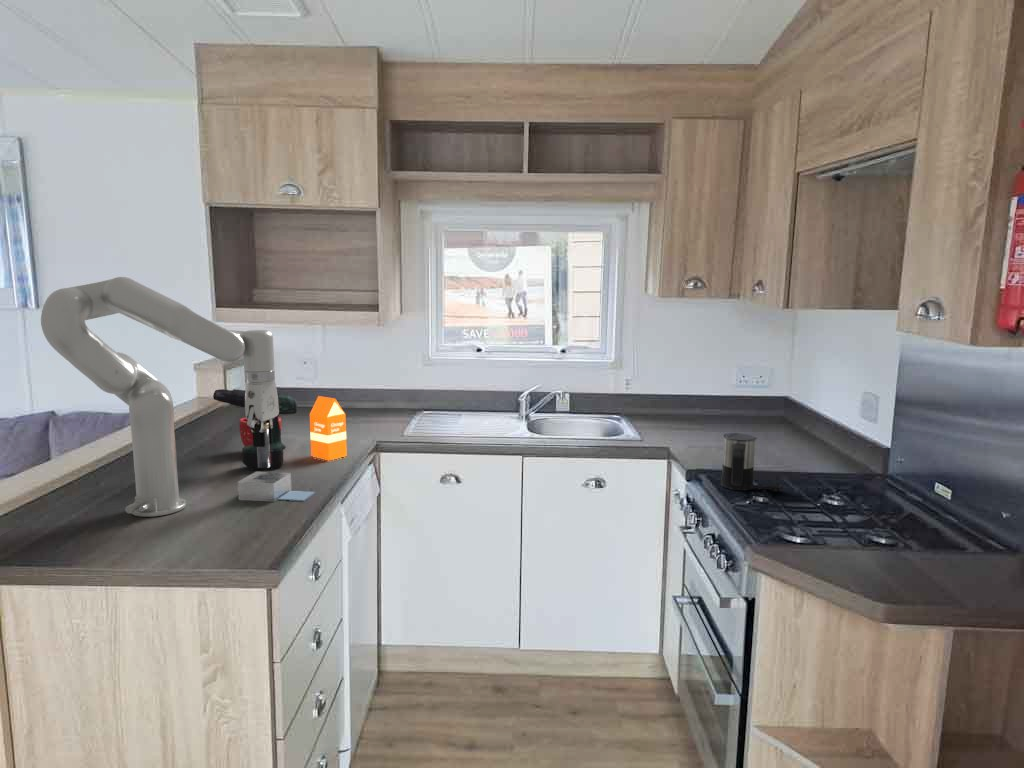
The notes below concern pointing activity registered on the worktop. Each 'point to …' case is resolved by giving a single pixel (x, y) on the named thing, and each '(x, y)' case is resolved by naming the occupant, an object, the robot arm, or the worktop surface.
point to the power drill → (276, 447)
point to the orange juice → (327, 429)
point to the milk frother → (740, 463)
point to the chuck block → (264, 486)
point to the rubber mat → (296, 495)
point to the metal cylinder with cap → (264, 449)
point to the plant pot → (248, 432)
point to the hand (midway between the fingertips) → (263, 444)
